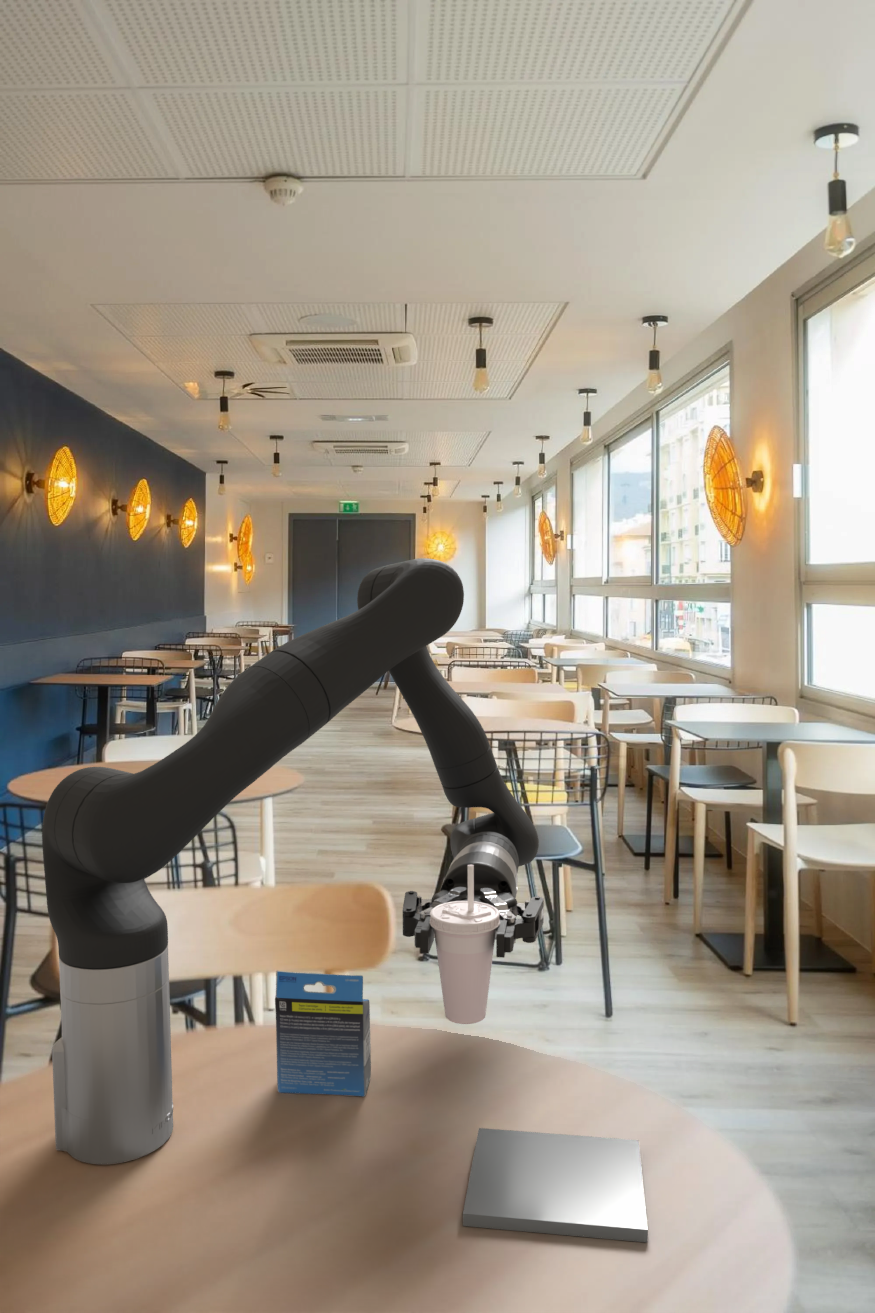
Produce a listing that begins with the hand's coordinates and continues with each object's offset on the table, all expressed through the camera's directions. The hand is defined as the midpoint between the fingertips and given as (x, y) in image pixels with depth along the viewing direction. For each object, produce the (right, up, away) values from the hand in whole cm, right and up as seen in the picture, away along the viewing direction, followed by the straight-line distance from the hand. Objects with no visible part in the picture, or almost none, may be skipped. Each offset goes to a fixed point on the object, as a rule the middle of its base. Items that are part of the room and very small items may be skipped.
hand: (462, 944), depth 87 cm
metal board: (+8, -18, -6) cm, 21 cm away
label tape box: (-13, -17, +10) cm, 24 cm away
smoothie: (0, -7, +3) cm, 8 cm away
